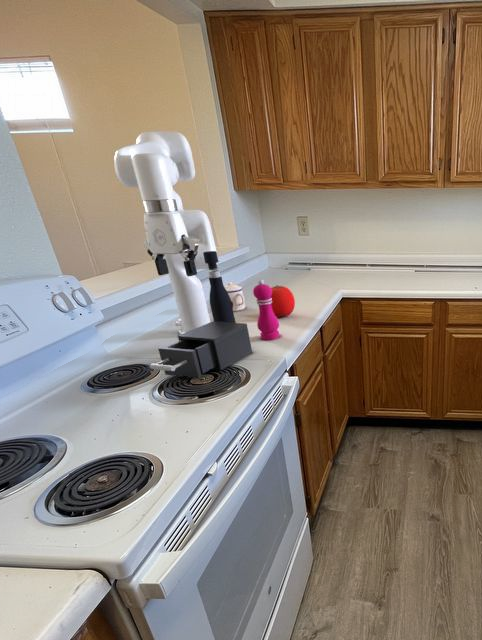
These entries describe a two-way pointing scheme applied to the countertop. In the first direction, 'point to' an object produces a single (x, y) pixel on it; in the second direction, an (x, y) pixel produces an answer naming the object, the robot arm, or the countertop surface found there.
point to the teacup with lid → (235, 296)
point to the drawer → (187, 358)
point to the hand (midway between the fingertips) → (177, 274)
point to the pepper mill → (266, 312)
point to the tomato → (282, 301)
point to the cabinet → (223, 341)
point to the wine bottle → (218, 291)
